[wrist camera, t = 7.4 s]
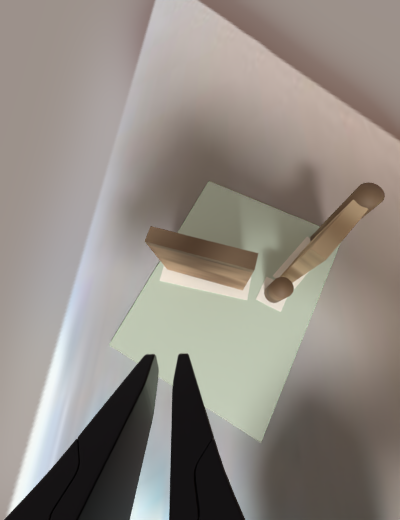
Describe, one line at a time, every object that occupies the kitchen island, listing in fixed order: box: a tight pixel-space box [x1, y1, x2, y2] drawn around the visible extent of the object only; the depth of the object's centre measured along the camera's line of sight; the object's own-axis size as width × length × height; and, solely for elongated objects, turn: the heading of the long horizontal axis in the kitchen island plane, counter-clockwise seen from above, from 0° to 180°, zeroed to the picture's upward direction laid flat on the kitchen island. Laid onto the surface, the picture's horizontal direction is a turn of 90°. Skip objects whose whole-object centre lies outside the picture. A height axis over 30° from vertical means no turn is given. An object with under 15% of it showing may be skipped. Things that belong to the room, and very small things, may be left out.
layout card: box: [109, 181, 340, 443], centre depth 23 cm, size 16×21×1 cm
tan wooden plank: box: [145, 226, 259, 290], centre depth 20 cm, size 8×1×8 cm, turn 73°
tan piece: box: [264, 183, 385, 303], centre depth 19 cm, size 2×9×9 cm, turn 137°
